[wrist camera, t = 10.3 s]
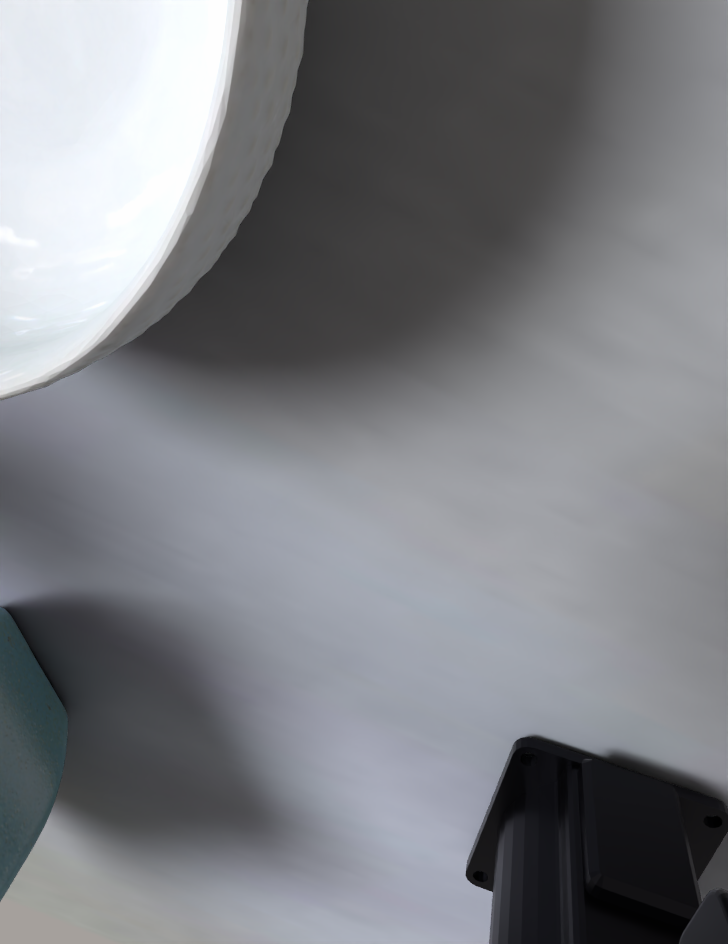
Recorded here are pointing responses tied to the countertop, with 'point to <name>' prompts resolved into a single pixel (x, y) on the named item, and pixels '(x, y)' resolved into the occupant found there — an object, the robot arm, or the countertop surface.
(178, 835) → the countertop surface
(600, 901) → the robot arm
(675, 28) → the countertop surface
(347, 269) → the countertop surface
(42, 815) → the flower pot
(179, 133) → the cereal bowl
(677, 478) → the countertop surface
